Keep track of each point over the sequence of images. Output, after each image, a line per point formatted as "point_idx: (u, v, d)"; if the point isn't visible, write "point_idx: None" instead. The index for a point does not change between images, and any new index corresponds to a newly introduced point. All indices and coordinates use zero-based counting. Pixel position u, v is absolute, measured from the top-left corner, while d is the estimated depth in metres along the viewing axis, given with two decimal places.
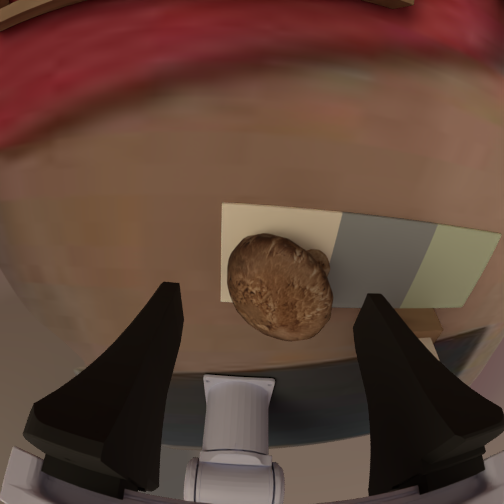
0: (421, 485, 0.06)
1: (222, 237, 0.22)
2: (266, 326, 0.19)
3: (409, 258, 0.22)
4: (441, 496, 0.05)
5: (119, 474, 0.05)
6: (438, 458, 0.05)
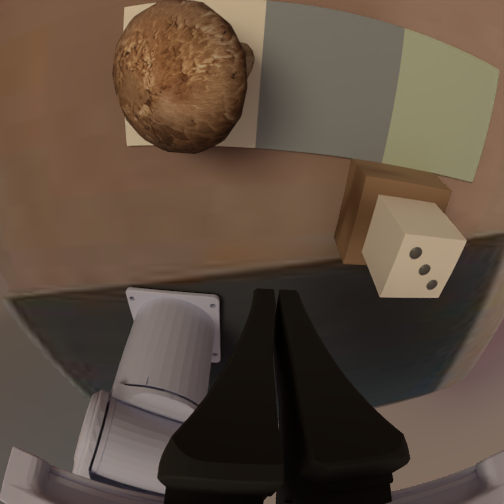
0: None
1: None
2: (146, 103, 0.11)
3: (377, 72, 0.15)
4: (441, 496, 0.05)
5: (273, 492, 0.05)
6: (313, 480, 0.05)
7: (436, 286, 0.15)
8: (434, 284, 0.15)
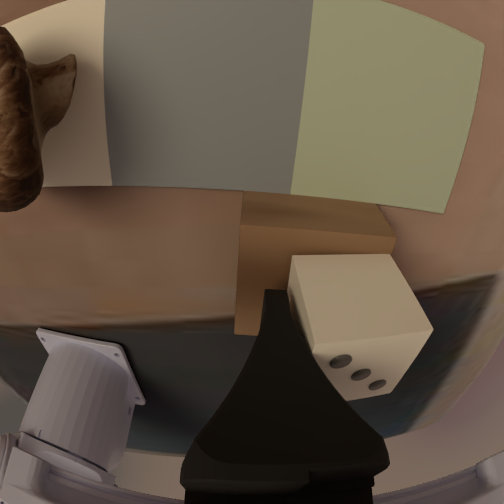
0: None
1: None
2: None
3: (269, 57, 0.10)
4: (441, 496, 0.05)
5: (294, 491, 0.05)
6: None
7: (385, 384, 0.10)
8: (381, 383, 0.10)
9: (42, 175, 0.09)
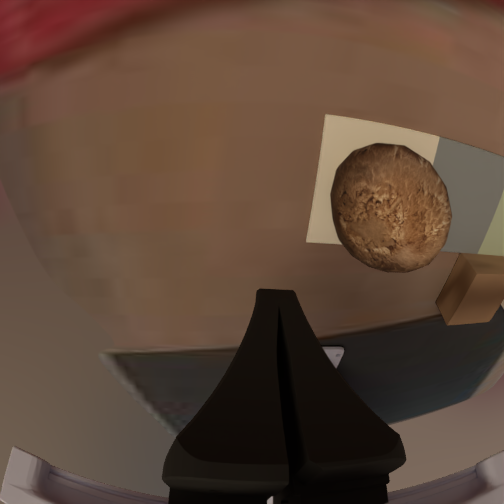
0: None
1: (321, 156, 0.18)
2: (388, 247, 0.15)
3: (490, 194, 0.19)
4: (441, 496, 0.05)
5: (277, 492, 0.05)
6: (308, 481, 0.05)
7: None
8: None
9: None
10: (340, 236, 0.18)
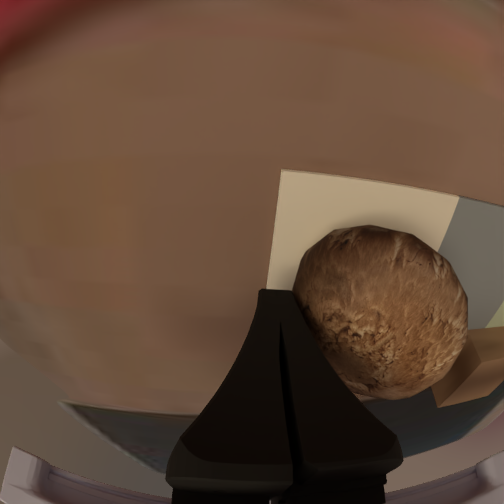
0: None
1: (276, 232, 0.13)
2: (366, 384, 0.10)
3: None
4: (441, 497, 0.05)
5: (281, 492, 0.05)
6: (305, 481, 0.05)
7: None
8: None
9: None
10: None
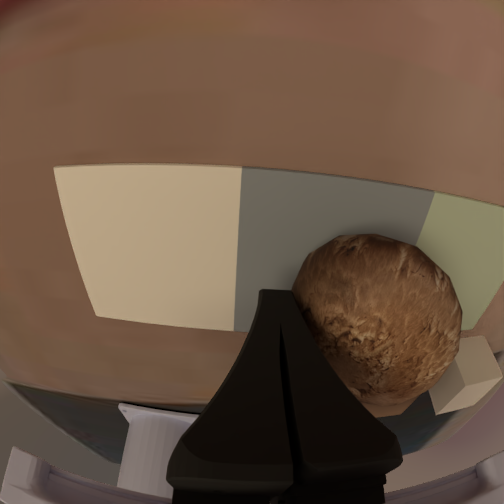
0: None
1: (66, 221, 0.12)
2: (359, 389, 0.10)
3: None
4: (441, 496, 0.05)
5: (281, 492, 0.05)
6: (304, 481, 0.05)
7: None
8: None
9: None
10: None
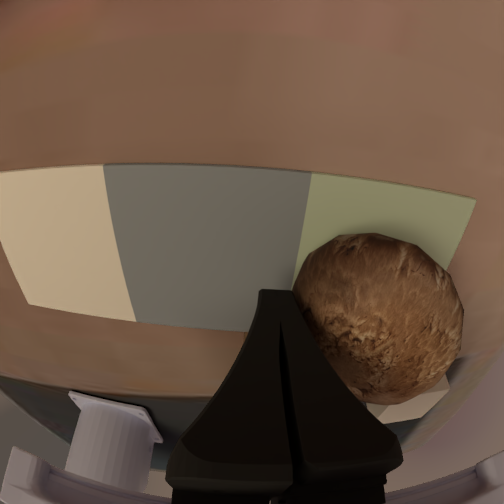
0: None
1: None
2: (360, 389, 0.10)
3: (265, 245, 0.13)
4: (441, 496, 0.05)
5: (281, 492, 0.05)
6: (305, 481, 0.05)
7: None
8: None
9: None
10: None
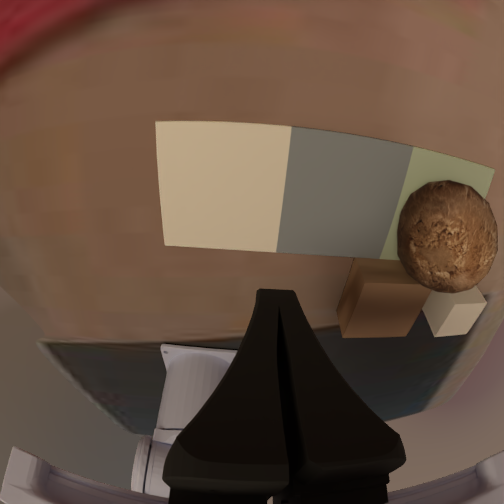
0: None
1: (158, 162, 0.18)
2: (449, 272, 0.16)
3: (383, 189, 0.19)
4: (441, 497, 0.05)
5: (277, 492, 0.05)
6: (308, 481, 0.05)
7: None
8: None
9: None
10: (405, 257, 0.19)
